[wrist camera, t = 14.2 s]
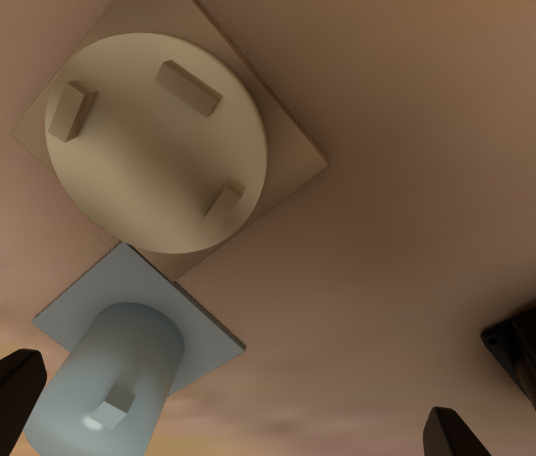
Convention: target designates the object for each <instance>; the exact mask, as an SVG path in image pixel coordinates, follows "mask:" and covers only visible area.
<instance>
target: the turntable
mask: <svg viewBox="0 0 536 456" xmlns="http://www.w3.org/2000/svg"><path fill="white" fill-rule="evenodd" d="M45 134H46V141H47V147H48V151H49V155H50V159H51V162H52V164H53V167H54V170H55V172H56V174H57V176H58V178H59V180H60V182H61V184H62V186H63V188H64V189H65V191H66V192H67V194H68V195H69V197H70V198H71V199H72V201H73V202H74V203H75V204H76V206H77V207H78V208H79V209H80V210H81V211H82V212H83V213H84V214H85V215H86V216H87V217H88V218H89V219H90V220H91V221H92V222H94V223H95V224H96V225H97V226H98V227H100V228H101V229H102V230H104V231H105V232H107V233H108V234H110V235H111V236H113V237H115V238H117V239H119V240H121V241H123V242H125V243H127V244H130V245H132V246H135V247H138V248H141V249H144V250H148V251H153V252H159V253H170V254H177V253H189V252H195V251H199V250H203V249H206V248H209V247H211V246H214V245H216V244H218V243H220V242H222V241H223V240H225V239H226V238H228V237H229V236H231V235H232V234H233V233H234V232H235V231H237V230H238V229H239V228H240V227H241V226H242V225H243V223H244V222H245V221H246V220H247V219H248V217H249V216H250V214H251V213H252V211H253V209H254V208H255V205H256V203H257V201H258V199H259V197H260V194H261V191H262V188H263V185H264V181H265V178H266V173H267V165H268V145H267V137H266V132H265V128H264V124H263V120H262V118H261V115H260V113H259V110H258V108H257V105H256V103H255V102H254V100H253V98H252V96H251V95H250V93H249V91H248V90H247V88H246V87H245V86H244V84H243V83H242V81H241V80H240V79H239V78H238V76H237V75H236V74H235V73H234V72H233V71H232V70H231V69H230V68H229V67H228V66H227V65H226V64H225V63H223V62H222V61H221V60H220V59H219V58H217V57H216V56H215V55H213V54H212V53H210V52H209V51H207V50H205V49H204V48H202V47H201V46H199V45H196V44H194V43H192V42H190V41H188V40H186V39H182V38H179V37H176V36H172V35H168V34H162V33H155V32H137V33H129V34H122V35H115V36H111V37H108V38H105V39H101V40H99V41H97V42H95V43H93V44H91V45H89V46H87V47H85V48H84V49H82V50H81V51H80V52H79V53H77V54H76V55H75V56H73V58H72V59H71V60H70V61H69V62H68V63H67V64H66V65H65V66H64V67H63V69H62V70H61V72H60V73H59V75H58V76H57V78H56V80H55V82H54V85H53V87H52V89H51V91H50V95H49V99H48V102H47V108H46V115H45Z"/></svg>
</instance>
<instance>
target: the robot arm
mask: <svg viewBox="0 0 536 456" xmlns="http://www.w3.org/2000/svg"><path fill="white" fill-rule="evenodd" d="M490 338H493V339H491V340H490ZM481 339H482V341H483V343H484V345H485V346H486V348H487V349H488V350H489V351H490V352H491V354H492V355H493V356H494V357H495V358H496V360H497V361H498V362H499V363H500V365H501V366H502V367H503V368H504V369H505V371H506V372H507V373H508V374H509V376H510V377H511V378H512V379H513V380H514V382H515V383H516V384H517V385H518V387H519V388H520V389H521V390H522V391H523V393H524V394H525V395H526V396H527V397H528V399H529V400H530V401H531V403H532V405H533V407H534V409H535V411H536V308H534V309H531V310H529V311H527V312H525V313H523V314H521V315H518V316H516V317H514V318H512V319H510V320H508V321H505V322H503V323H501V324H499V325H497V326H495V327H492V328H490V329H488V330H486V331H484V332H483V333H482V335H481ZM46 381H47V372H46V369H45V365H44V362H43V358H42V355H41V353H40V352H39V351H38V350H33V349H26V348H23V349H19V350H17V351H15V352H13V353H12V354H10V355H8V356H6V357H4V358H3V359H1V360H0V456H9V455H10V453H11V451H12V450H13V448H14V446H15V444H16V442H17V440H18V439H19V437H20V435H21V433H22V431H23V429H24V427H25V425H26V423H27V421H28V419H29V417H30V415H31V413H32V411H33V409H34V407H35V405H36V403H37V401H38V399H39V397H40V395H41V392H42V390H43V388H44V386H45V384H46ZM423 446H424V455H425V456H491V454H490V453H489V452H488V451H487V449H486V448H485V447H484V446H483V444H482V443H481V442H480V441H479V440H478V438H477V437H476V436H475V435H474V433H473V432H472V431H471V430H470V428H469V427H468V426H467V425H466V424H465V422H464V421H463V420H462V419H461V417H460V416H459V415H458V414H457V413H456V411H454V410H453V409H451V408H445V407H438V406H435V407H433V408H432V410H431V412H430V414H429V417H428V420H427V422H426V425H425V427H424V431H423Z"/></svg>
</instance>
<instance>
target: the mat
mask: <svg viewBox="0 0 536 456" xmlns="http://www.w3.org/2000/svg"><path fill="white" fill-rule="evenodd" d="M119 303H134V304H140V305H144V306H147V307H150V308H152V309H155V310H157V311H159V312H160V313H162V314H163V315H165V316H166V317H168V318H169V319H170V320H171V321H172V322H173V323H174V324H175V325H176V326H177V328H178V329H179V331H180V332H181V334H182V337H183V339H184V344H185V351H184V355H183V358H182V360H181V363H180V365H179V368H178V370H177V373H176V376H175V378H174V381H173V383H172V386H171V388H170V391H169V393H168V396H169V395H171V394H173V393H174V392H176V391H178V390H180V389H181V388H183V387H185V386H186V385H188V384H190V383H192V382H193V381H195V380H197V379H198V378H200V377H202V376H204V375H205V374H207V373H209V372H210V371H212V370H214V369H216V368H217V367H219V366H221V365H222V364H224V363H226V362H228V361H229V360H231V359H233V358H234V357H236V356H238V355H240V354H241V353H243V352H245V349H246V346H245V345H243V344H242V343H241V342H240V341H239V340H238V339H237V338H236V337H235V336H234V335H233V334H231V333H230V332H229V331H228V330H227V329H226V328H225V327H224V326H223V325H222V324H220V323H219V322H218V321H217V320H216V319H215V318H214V317H213V316H212V315H211V314H210V313H208V312H207V311H206V310H205V309H204V308H203V307H202V306H201V305H200V304H199V303H198V302H196V301H195V300H194V299H193V298H192V297H191V296H190V295H189V294H188V293H187V292H185V291H184V290H183V289H182V288H181V287H180V286H179V285H178V284H177V283H176V282H175V281H174V282H171V281H170V280H169V279H168V278H167V277H166V276H165V275H164V274H163V273H162V272H160V271H159V270H158V269H157V268H156V267H155V266H154V265H153V264H152V263H151V262H149V261H148V260H147V259H146V258H145V257H144V256H143V255H142V254H141V253H140V252H139V251H137V250H136V249H135V248H134V247H133V246H132V245H130V244H127V243H125V242H123V241H122V242H121V243H119V244H118V245H117V246H116V247H115V248H114V249H113V250H111V251H110V252H109V253H108V254H107V255H106V256H105V257H103V258H102V259H101V260H100V261H99V262H98V263H97V264H95V265H94V266H93V267H92V268H91V269H90V270H89V271H87V272H86V273H85V274H84V275H83V276H82V277H81V278H79V279H78V280H77V281H76V282H75V283H74V284H73V285H71V286H70V287H69V288H68V289H67V290H66V291H65V292H63V293H62V294H61V295H60V296H59V297H58V298H57V299H55V300H54V301H53V302H52V303H51V304H50V305H49V306H47V307H46V308H45V309H44V310H43V311H42V312H41V313H39V314H38V315H37V316H36V317H35V318H34V319H33V320H32V321H31V323H33V324H34V325H35V326H36V327H38V328H39V329H40V330H42V331H43V332H44V333H46V334H47V335H48V336H49V337H51V338H52V339H53V340H55V341H56V342H57V343H59V344H60V345H61V346H62V347H64V348H65V349H66V350H68V351H69V352H70V353H71V351H72V350H73V349H74V347H75V346H76V344H77V343H78V342H79V340H80V339H81V338H82V336H83V335H84V333H85V332H86V331H87V329H88V328H89V326H90V325H91V324H92V322H93V321H94V320H95V318H96V317H97V315H98V314H99V313H100V312H101V311H102V310H104V309H105V308H107V307H109V306H112V305H115V304H119ZM168 396H167V397H168Z"/></svg>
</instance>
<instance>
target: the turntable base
mask: <svg viewBox="0 0 536 456" xmlns="http://www.w3.org/2000/svg"><path fill="white" fill-rule="evenodd" d="M137 32H155V33H162V34H168V35H172V36H176V37H179V38H182V39H186V40H188V41H190V42H192V43H194V44H196V45H199V46H201V47H202V48H204V49H205V50H207V51H209V52H210V53H212V54H213V55H215V56H216V57H217V58H219V59H220V60H221V61H222V62H223V63H225V64H226V65H227V66H228V67H229V68H230V69H231V70H232V71H233V72H234V73H235V74H236V75H237V76H238V78H239V79H240V80H241V81H242V83H243V84H244V86H245V87H246V88H247V90H248V91H249V93H250V95H251V96H252V98H253V100H254V102H255V103H256V105H257V108H258V110H259V113H260V115H261V118H262V120H263V124H264V128H265V132H266V137H267V145H268V165H267V173H266V178H265V181H264V185H263V188H262V191H261V194H260V197H259V199H258V201H257V203H256V205H255V208H254V209H253V211H252V213H251V214H250V216H249V217H248V219H247V220H246V221H245V222H244V223H243V225H242V226H241V227H240V228H239V229H238V230H237V231H235V232H234V233H233V234H232V235H231V236H229V237H228V238H226V239H225V240H223V241H222V242H220V243H218V244H216V245H214V246H211V247H209V248H206V249H203V250H199V251H195V252H189V253H177V254H170V253H159V252H153V251H148V250H144V249H141V248H138V247H135V246H133V247H134V248H135V249H136V250H137V251H139V252H140V253H141V254H142V255H143V256H144V257H145V258H146V259H147V260H148V261H149V262H151V263H152V264H153V265H154V266H155V267H156V268H157V269H158V270H159V271H160V272H162V273H163V274H164V275H165V276H166V277H167V278H168V279H169V280H170V281H171V282H174V281H175V280H177V279H178V278H179V277H181V276H182V275H183V274H185V273H186V272H187V271H189V270H190V269H191V268H193V267H194V266H195V265H197V264H198V263H199V262H201V261H202V260H203V259H205V258H206V257H207V256H209V255H210V254H211V253H213V252H214V251H215V250H217V249H218V248H219V247H221V246H222V245H223V244H225V243H226V242H227V241H229V240H230V239H231V238H233V237H234V236H235V235H237V234H238V233H239V232H241V231H242V230H243V229H245V228H246V227H247V226H249V225H250V224H251V223H253V222H254V221H255V220H257V219H258V218H259V217H261V216H262V215H263V214H265V213H266V212H267V211H269V210H270V209H271V208H273V207H274V206H275V205H277V204H278V203H279V202H281V201H282V200H283V199H285V198H286V197H287V196H289V195H290V194H291V193H293V192H294V191H295V190H297V189H298V188H299V187H301V186H302V185H303V184H305V183H306V182H307V181H309V180H310V179H311V178H313V177H314V176H315V175H317V174H318V173H319V172H321V171H322V170H323V169H325V168H326V167H327V166H329V160H328V158H327V157H326V156H325V155H324V153H323V152H322V151H321V150H320V149H319V147H318V146H317V145H316V144H315V143H314V141H313V140H312V139H311V138H310V137H309V135H308V134H307V133H306V132H305V130H304V129H303V128H302V127H301V126H300V124H299V123H298V122H297V121H296V120H295V118H294V117H293V116H292V115H291V113H290V112H289V111H288V110H287V109H286V107H285V106H284V105H283V104H282V103H281V101H280V100H279V99H278V98H277V96H276V95H275V94H274V93H273V92H272V90H271V89H270V88H269V87H268V86H267V84H266V83H265V82H264V81H263V79H262V78H261V77H260V76H259V75H258V73H257V72H256V71H255V70H254V69H253V67H252V66H251V65H250V64H249V62H248V61H247V60H246V59H245V58H244V56H243V55H242V54H241V53H240V52H239V50H238V49H237V48H236V47H235V46H234V44H233V43H232V42H231V41H230V39H229V38H228V37H227V36H226V35H225V33H224V32H223V31H222V30H221V29H220V27H219V26H218V25H217V24H216V22H215V21H214V20H213V19H212V18H211V16H210V15H209V14H208V13H207V12H206V10H205V9H204V8H203V7H202V5H201V4H200V3H199V2H198V1H197V0H113V1H112V2H111V4H110V5H109V6H108V8H107V9H106V10H105V11H104V13H103V14H102V15H101V17H100V18H99V19H98V20H97V22H96V23H95V24H94V26H93V27H92V28H91V29H90V31H89V32H88V33H87V35H86V36H85V37H84V38H83V40H82V41H81V42H80V44H79V45H78V46H77V47H76V49H75V50H74V51H73V53H72V54H71V55H70V56H69V58H68V59H67V60H66V61H65V63H64V64H63V65H62V67H61V68H60V69H59V70H58V72H57V73H56V74H55V76H54V77H53V78H52V79H51V81H50V82H49V83H48V85H47V86H46V87H45V88H44V90H43V91H42V92H41V94H40V95H39V96H38V97H37V99H36V100H35V101H34V103H33V104H32V105H31V106H30V108H29V109H28V110H27V112H26V113H25V114H24V115H23V117H22V118H21V119H20V121H19V122H18V123H17V124H16V126H15V127H14V128H13V130H12V131H11V132H10V133H9V134H10V135H11V136H12V137H13V138H15V139H16V140H17V141H18V142H19V143H20V144H21V145H22V146H23V147H24V148H26V149H27V150H28V151H29V152H30V153H31V154H32V155H33V156H34V157H35V158H37V159H38V160H39V161H40V162H41V163H42V164H43V165H44V166H45V167H46V168H47V169H49V170H50V171H51V172H52V173H53V174H54V175H55V176H56V177H57V178H58V176H57V174H56V172H55V170H54V167H53V164H52V162H51V159H50V155H49V151H48V147H47V141H46V134H45V115H46V108H47V102H48V99H49V95H50V91H51V89H52V87H53V85H54V82H55V80H56V78H57V76H58V75H59V73H60V72H61V70H62V69H63V67H64V66H65V65H66V64H67V63H68V62H69V61H70V60H71V59H72V58H73V56H75V55H76V54H77V53H79V52H80V51H81V50H82V49H84V48H85V47H87V46H89V45H91V44H93V43H95V42H97V41H99V40H101V39H105V38H108V37H111V36H115V35H122V34H129V33H137ZM58 179H59V178H58Z"/></svg>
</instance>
